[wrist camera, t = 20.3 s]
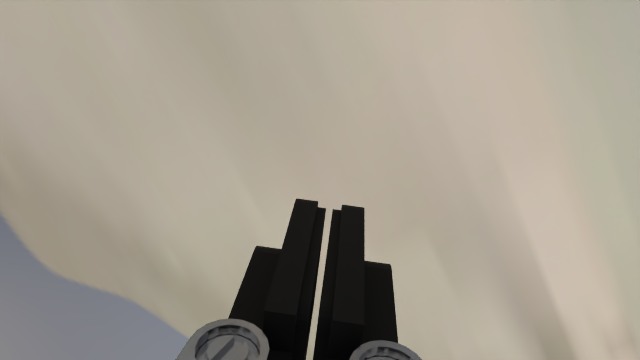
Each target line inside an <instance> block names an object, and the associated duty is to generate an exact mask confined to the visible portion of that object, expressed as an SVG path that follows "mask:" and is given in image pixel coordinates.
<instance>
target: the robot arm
mask: <svg viewBox="0 0 640 360" xmlns="http://www.w3.org/2000/svg"><path fill="white" fill-rule="evenodd" d="M325 212H326V208H319V207H318V201H311V200H303V199H296V201H295V204H294V208H293V211H292V215H291V218H290V222H289V225H288V229H287V232H286V236H285V239H284V243H283V246H282V249H276V248H269V247H261V246H256V248H255V250H254V252H253V255H252V257H251V260H250V263H249V265H248V268H247V271H246V273H245V276H244V278H243V281H242V284H241V286H240V289H239V292H238V294H237V297H236V299H235V302H234V305H233V307H232V310H231V313H230V315H229V318H228V319H222V320H217V321H214V322H211V323H208V324H206V325H205V326H203V327H201V328H200V329H198V330H197V331H196V332H195V333H194V334H193V335H192V336H191V338H190V339H189V340H188V342H187V343H186V345H185V346H184V348H183V349H182V351H181V352H180V354H179V355H178V357H177V358H176V359H175V360H306V354H307V347H308V340H309V333H310V326H311V319H312V313H313V306H314V298H315V291H316V283H317V275H318V267H319V259H320V251H321V243H322V236H323V228H324V220H325ZM313 360H422V359H421V358H420V357H419V356H418V355H417V354H416V353H415V352H413V351H412V350H410V349H409V348H407V347H406V346H403V345H401V344H398V336H397V325H396V314H395V303H394V292H393V280H392V269H391V265H390V264H384V263H377V262H370V261H364V208H363V207H355V206H348V205H342V209H341V210H334V209H333V212H332V220H331V227H330V235H329V242H328V249H327V257H326V264H325V272H324V279H323V287H322V294H321V301H320V309H319V317H318V325H317V332H316V340H315V348H314V356H313Z"/></svg>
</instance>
